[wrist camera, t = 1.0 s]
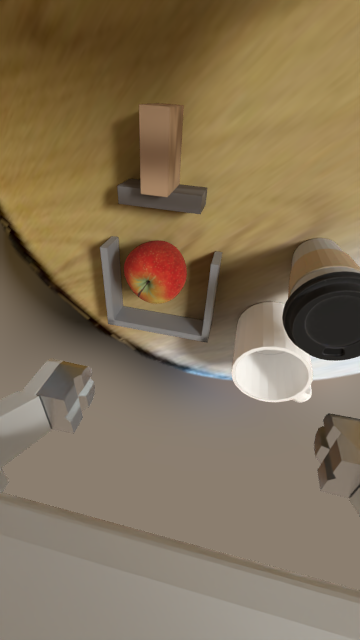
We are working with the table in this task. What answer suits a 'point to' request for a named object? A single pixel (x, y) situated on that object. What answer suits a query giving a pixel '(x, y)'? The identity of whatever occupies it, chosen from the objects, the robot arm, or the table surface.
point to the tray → (151, 319)
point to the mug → (269, 357)
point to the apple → (155, 271)
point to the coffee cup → (323, 301)
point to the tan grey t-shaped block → (161, 164)
